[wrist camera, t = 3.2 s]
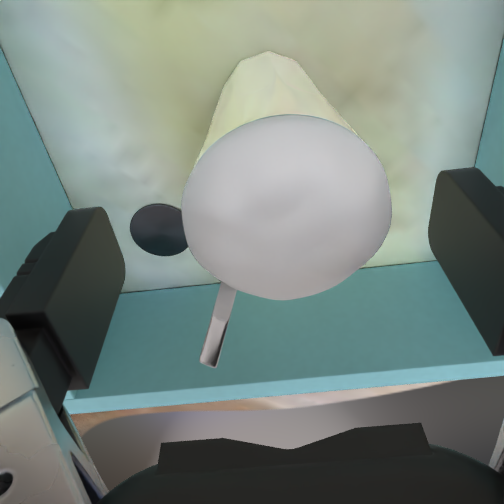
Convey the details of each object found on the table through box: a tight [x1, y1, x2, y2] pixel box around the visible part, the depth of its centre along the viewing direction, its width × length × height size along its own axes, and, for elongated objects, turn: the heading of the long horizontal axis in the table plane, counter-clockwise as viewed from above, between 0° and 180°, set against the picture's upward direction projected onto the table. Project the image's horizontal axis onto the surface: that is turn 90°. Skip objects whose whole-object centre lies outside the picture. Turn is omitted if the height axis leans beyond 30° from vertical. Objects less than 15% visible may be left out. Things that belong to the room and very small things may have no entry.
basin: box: [0, 39, 504, 414], centre depth 14 cm, size 19×19×6 cm
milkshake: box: [181, 51, 392, 368], centre depth 12 cm, size 5×5×10 cm
